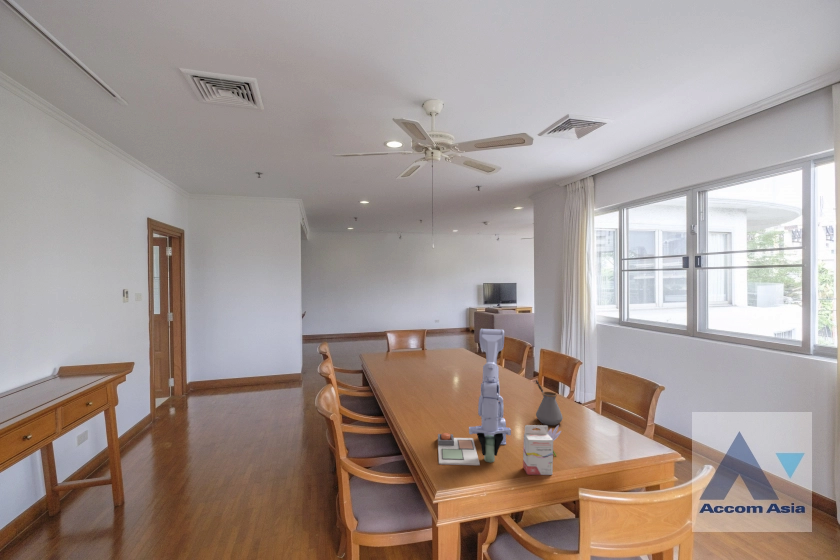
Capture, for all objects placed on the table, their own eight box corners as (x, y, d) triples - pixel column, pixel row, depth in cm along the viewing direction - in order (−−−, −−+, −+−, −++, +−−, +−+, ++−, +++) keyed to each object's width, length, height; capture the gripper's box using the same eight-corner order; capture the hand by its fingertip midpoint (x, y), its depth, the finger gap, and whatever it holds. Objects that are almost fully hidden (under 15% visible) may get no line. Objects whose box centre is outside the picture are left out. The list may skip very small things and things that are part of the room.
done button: (450, 438, 144) (450, 433, 144) (450, 442, 140) (450, 437, 140) (441, 437, 144) (441, 432, 144) (441, 441, 141) (441, 436, 141)
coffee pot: (567, 427, 160) (567, 392, 160) (542, 427, 159) (542, 393, 159) (546, 409, 181) (547, 379, 181) (524, 410, 180) (524, 379, 180)
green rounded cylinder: (493, 457, 132) (494, 435, 132) (495, 462, 128) (496, 439, 128) (483, 457, 132) (483, 434, 132) (484, 462, 128) (485, 439, 128)
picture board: (472, 439, 146) (473, 433, 146) (479, 465, 126) (479, 458, 126) (437, 438, 146) (437, 432, 146) (438, 464, 126) (439, 457, 126)
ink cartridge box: (527, 475, 120) (528, 430, 120) (522, 467, 125) (523, 424, 125) (553, 475, 120) (553, 430, 120) (547, 467, 125) (548, 424, 125)
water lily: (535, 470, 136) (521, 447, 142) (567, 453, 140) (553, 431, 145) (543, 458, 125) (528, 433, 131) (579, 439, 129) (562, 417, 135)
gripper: (470, 419, 126) (470, 459, 126) (513, 420, 126) (512, 460, 126) (468, 412, 133) (468, 449, 133) (508, 413, 133) (508, 450, 133)
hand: (489, 454), depth 130 cm, fingers closed on green rounded cylinder, 4 cm apart
